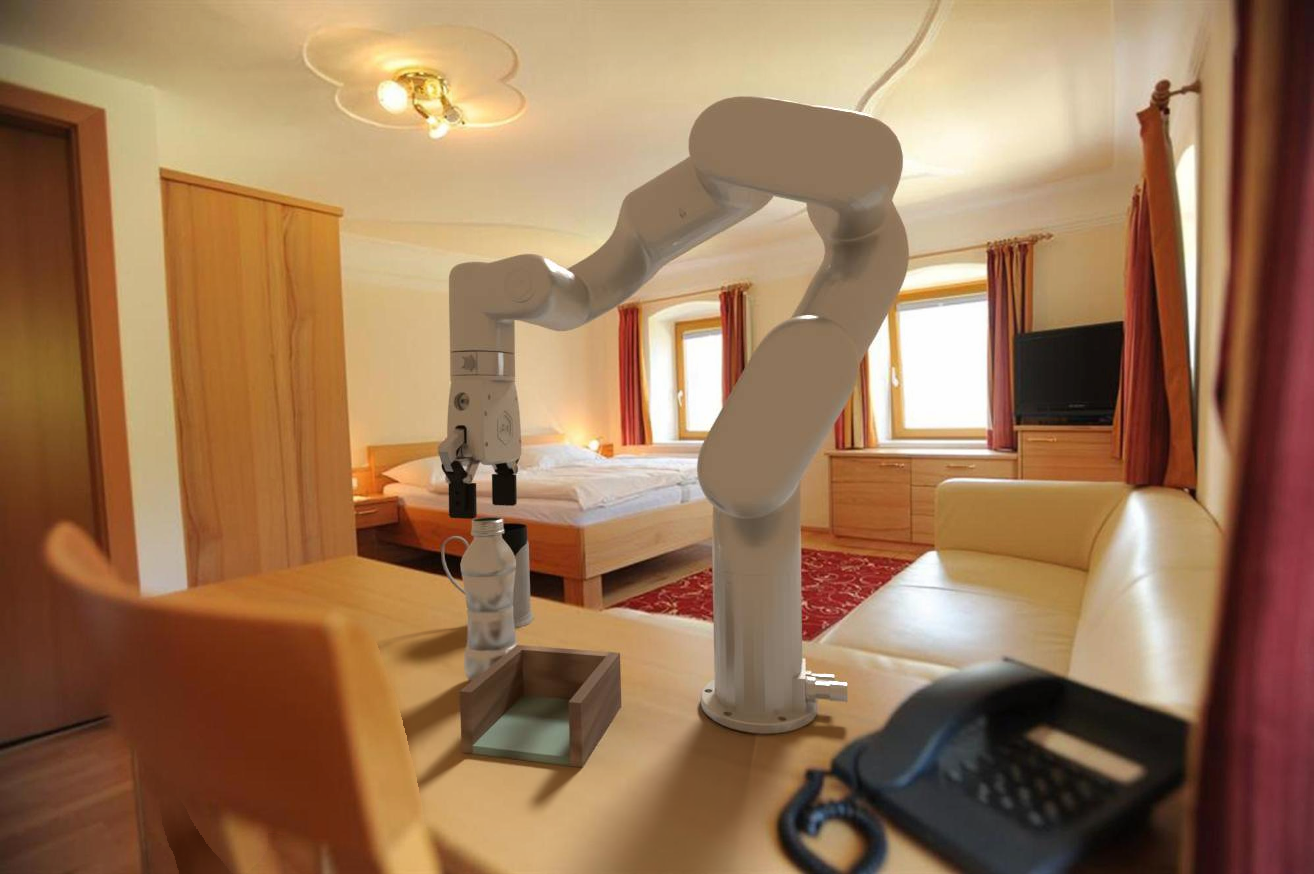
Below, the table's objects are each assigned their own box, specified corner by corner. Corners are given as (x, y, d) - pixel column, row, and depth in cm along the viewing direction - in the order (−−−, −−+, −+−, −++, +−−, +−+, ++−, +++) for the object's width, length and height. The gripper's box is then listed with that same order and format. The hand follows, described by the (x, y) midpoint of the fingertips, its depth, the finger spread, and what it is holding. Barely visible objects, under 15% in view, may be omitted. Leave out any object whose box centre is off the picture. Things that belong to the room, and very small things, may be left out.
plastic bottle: (507, 695, 71) (501, 524, 70) (453, 691, 72) (448, 523, 71) (529, 672, 77) (524, 515, 76) (480, 668, 78) (475, 514, 78)
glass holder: (527, 630, 92) (524, 532, 92) (433, 632, 92) (430, 534, 92) (538, 611, 101) (536, 521, 101) (453, 613, 101) (450, 523, 101)
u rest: (621, 706, 67) (620, 652, 67) (582, 767, 56) (580, 703, 56) (518, 696, 70) (517, 644, 70) (461, 752, 59) (459, 691, 59)
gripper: (472, 363, 64) (475, 525, 65) (542, 373, 81) (543, 502, 81) (410, 364, 66) (413, 522, 66) (491, 374, 82) (492, 500, 83)
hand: (484, 511), depth 74 cm, fingers open, 9 cm apart
